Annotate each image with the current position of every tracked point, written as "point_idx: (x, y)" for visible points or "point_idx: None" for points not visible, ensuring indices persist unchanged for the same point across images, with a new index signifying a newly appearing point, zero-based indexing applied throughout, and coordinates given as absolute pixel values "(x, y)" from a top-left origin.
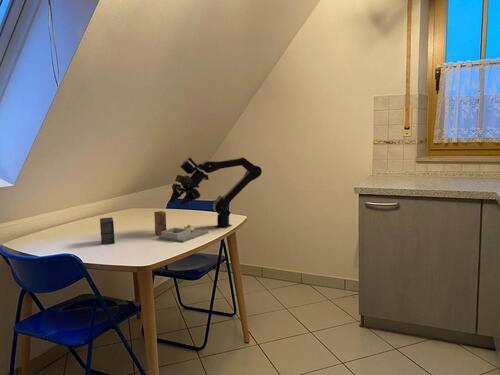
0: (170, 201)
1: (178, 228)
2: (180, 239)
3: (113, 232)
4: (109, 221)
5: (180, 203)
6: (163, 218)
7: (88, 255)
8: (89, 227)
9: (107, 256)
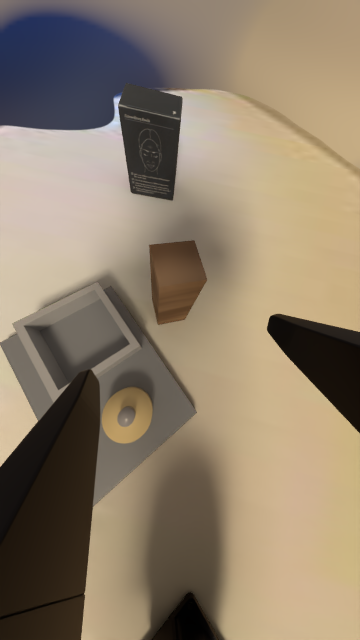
0: (273, 324)
1: (111, 356)
2: (18, 338)
3: (126, 157)
4: (120, 99)
5: (73, 382)
6: (155, 289)
7: (60, 138)
8: (309, 193)
9: (22, 157)
